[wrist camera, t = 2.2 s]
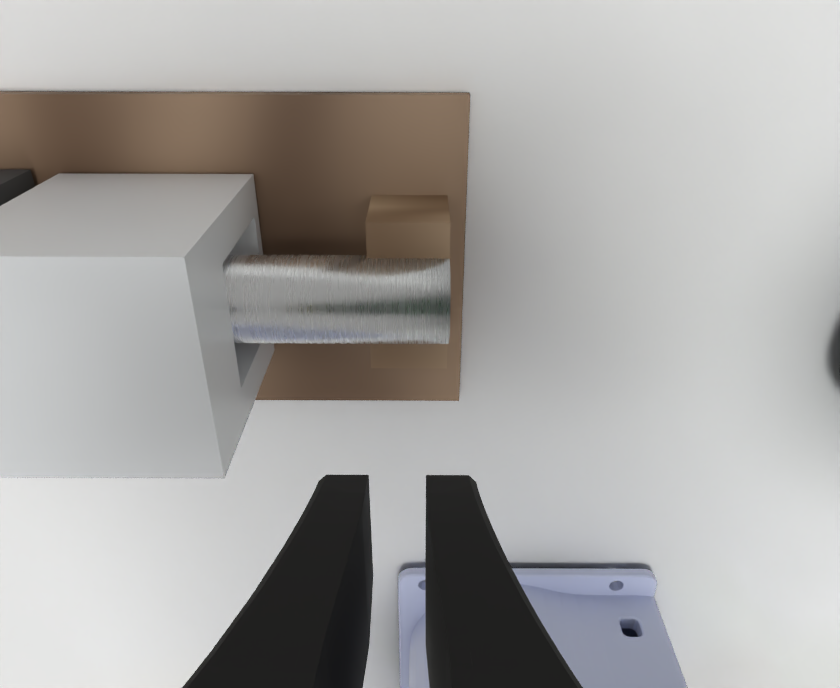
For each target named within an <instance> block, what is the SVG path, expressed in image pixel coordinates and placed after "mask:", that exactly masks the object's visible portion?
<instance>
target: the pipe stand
mask: <svg viewBox="0 0 840 688" xmlns="http://www.w3.org/2000/svg"><path fill="white" fill-rule="evenodd" d="M469 112H470V94H469V93H404V92H21V91H0V169H26V170H31V173H32V177H33V180H34V184H35V186H37V185H39V184H41V183H43V182H44V181H46V180H48V179H50V178H52V177H53V176H55V175H57V174H59V173H64V174H253V175H254V183H255V192H256V200H257V208H258V217H259V225H260V233H261V242H262V250H263V255H367V258H415V259H450V289H451V297H450V336H449V344H300V343H274V353H273V355H272V358H271V360H270V363H269V365H268V368H267V371H266V373H265V376H264V378H263V381H262V383H261V386H260V388H259V391H258V394H257V396H256V399H255V400H432V401H459V386H460V358H461V331H462V304H463V276H464V249H465V221H466V194H467V167H468V139H469Z"/></svg>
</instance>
